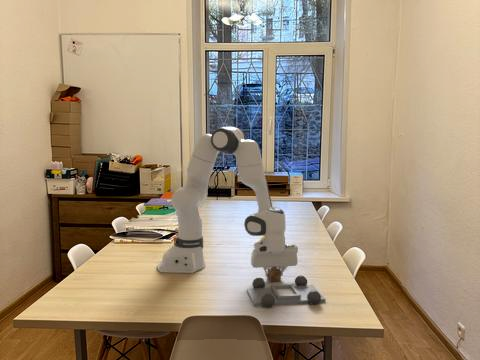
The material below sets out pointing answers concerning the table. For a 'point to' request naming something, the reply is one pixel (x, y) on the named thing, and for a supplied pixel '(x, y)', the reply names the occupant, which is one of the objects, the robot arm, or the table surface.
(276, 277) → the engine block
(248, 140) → the robot arm
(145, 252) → the table surface
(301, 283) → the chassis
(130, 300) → the table surface
